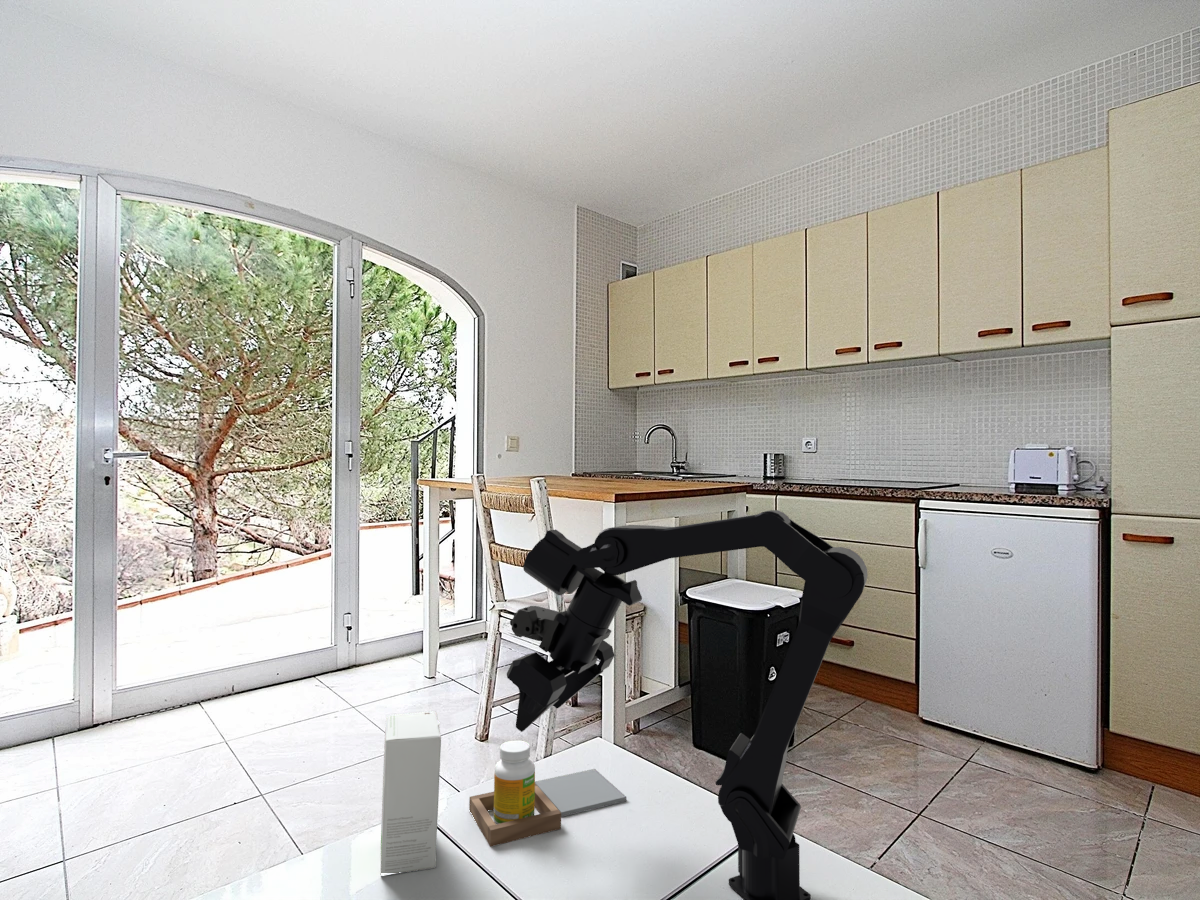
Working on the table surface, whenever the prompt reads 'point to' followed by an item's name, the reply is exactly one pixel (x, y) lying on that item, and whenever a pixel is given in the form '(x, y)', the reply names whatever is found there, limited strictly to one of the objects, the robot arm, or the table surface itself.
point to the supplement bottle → (514, 783)
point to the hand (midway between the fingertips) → (537, 717)
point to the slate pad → (580, 792)
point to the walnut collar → (516, 828)
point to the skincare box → (410, 792)
